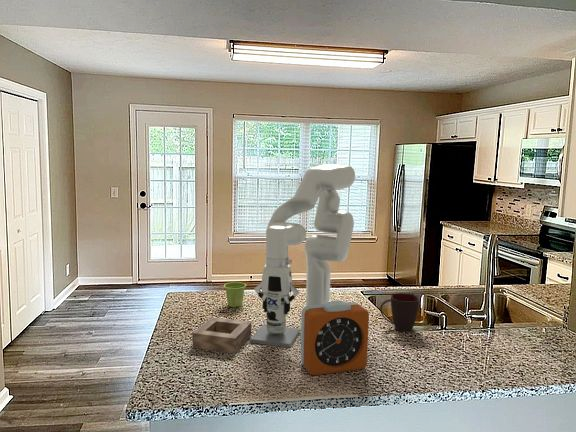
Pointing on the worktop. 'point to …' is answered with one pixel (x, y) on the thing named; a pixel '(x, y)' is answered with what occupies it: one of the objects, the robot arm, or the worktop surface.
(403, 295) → the cup
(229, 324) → the walnut collar
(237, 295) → the plant pot
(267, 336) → the slate coaster
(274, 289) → the spray can
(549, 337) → the worktop surface
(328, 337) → the alarm clock
